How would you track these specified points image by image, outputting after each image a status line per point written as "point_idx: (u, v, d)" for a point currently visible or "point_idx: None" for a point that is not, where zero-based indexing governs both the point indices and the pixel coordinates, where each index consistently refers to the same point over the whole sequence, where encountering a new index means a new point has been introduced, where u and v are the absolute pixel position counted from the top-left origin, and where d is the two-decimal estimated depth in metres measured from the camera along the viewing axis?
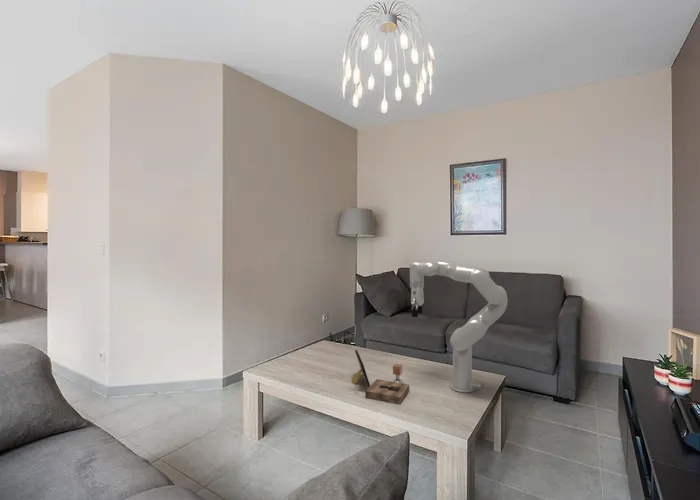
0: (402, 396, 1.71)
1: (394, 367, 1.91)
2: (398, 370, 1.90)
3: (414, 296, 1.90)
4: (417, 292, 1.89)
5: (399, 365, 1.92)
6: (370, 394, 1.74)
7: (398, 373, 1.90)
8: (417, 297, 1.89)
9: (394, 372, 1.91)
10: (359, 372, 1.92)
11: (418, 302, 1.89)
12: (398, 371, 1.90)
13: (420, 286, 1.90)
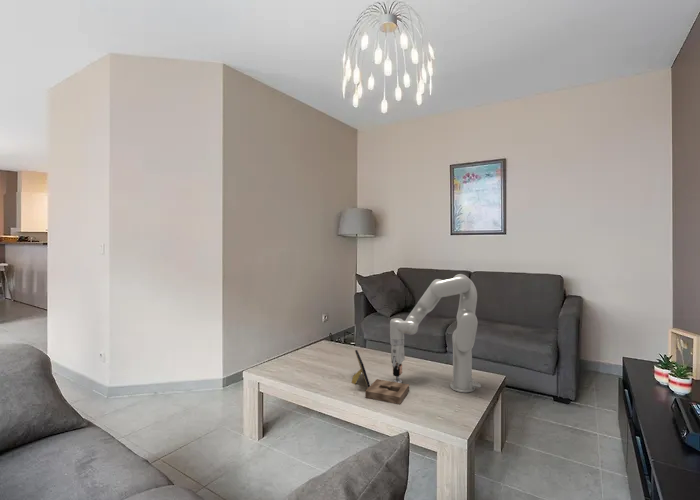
0: (402, 396, 1.71)
1: None
2: None
3: (394, 355, 1.87)
4: (397, 351, 1.87)
5: (399, 365, 1.92)
6: (370, 394, 1.74)
7: None
8: (397, 356, 1.87)
9: None
10: (359, 372, 1.92)
11: (398, 361, 1.87)
12: None
13: (400, 344, 1.88)
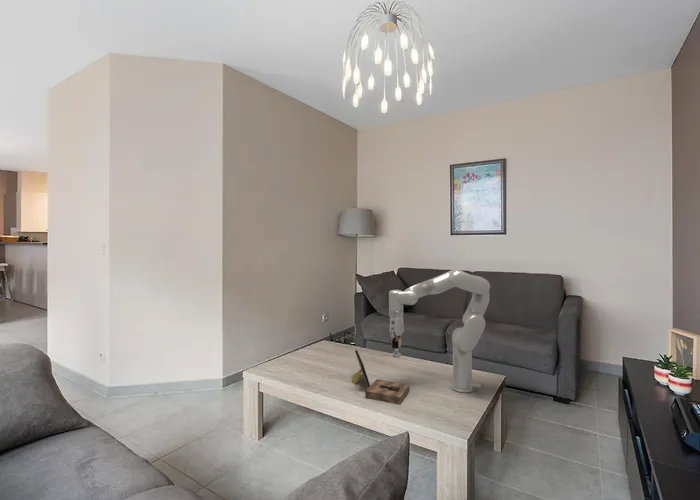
0: (402, 396, 1.71)
1: None
2: None
3: (392, 326, 1.84)
4: (395, 322, 1.83)
5: (398, 337, 1.88)
6: (370, 394, 1.74)
7: None
8: (395, 327, 1.83)
9: None
10: (359, 372, 1.92)
11: (396, 332, 1.83)
12: None
13: (399, 315, 1.84)
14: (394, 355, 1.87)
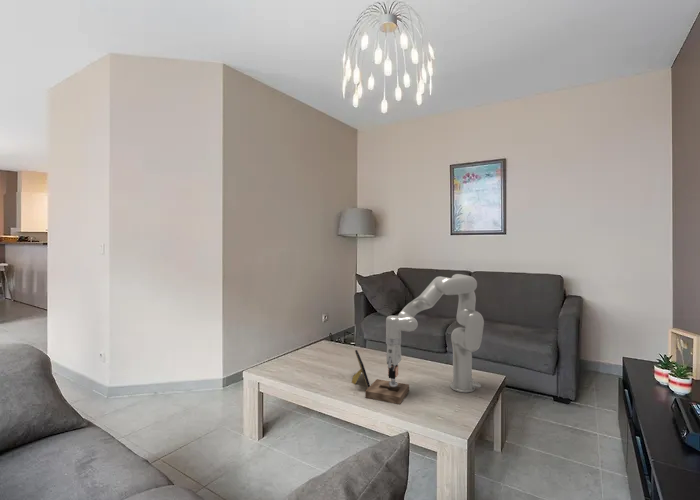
0: (402, 396, 1.71)
1: None
2: None
3: (390, 355, 1.72)
4: (393, 351, 1.72)
5: (395, 366, 1.77)
6: (370, 394, 1.74)
7: None
8: (393, 356, 1.72)
9: None
10: (359, 372, 1.92)
11: (394, 362, 1.72)
12: None
13: (397, 344, 1.73)
14: (391, 385, 1.76)
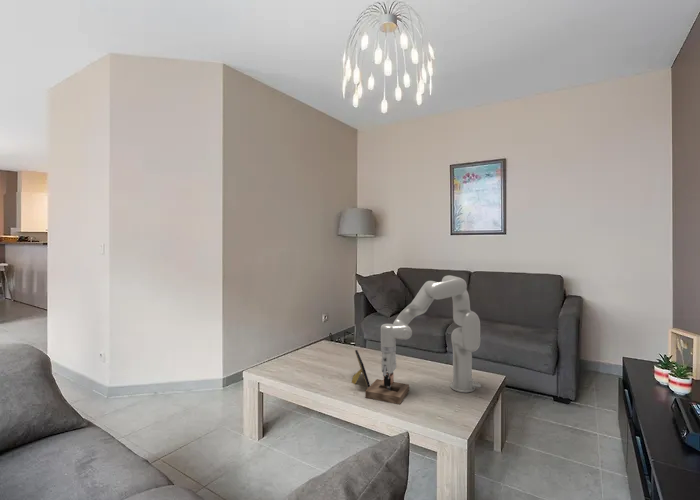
0: (402, 396, 1.71)
1: None
2: None
3: (385, 363, 1.74)
4: (388, 359, 1.73)
5: (390, 374, 1.78)
6: (370, 394, 1.74)
7: None
8: (388, 364, 1.73)
9: None
10: (359, 372, 1.92)
11: (389, 370, 1.73)
12: None
13: (391, 352, 1.74)
14: None
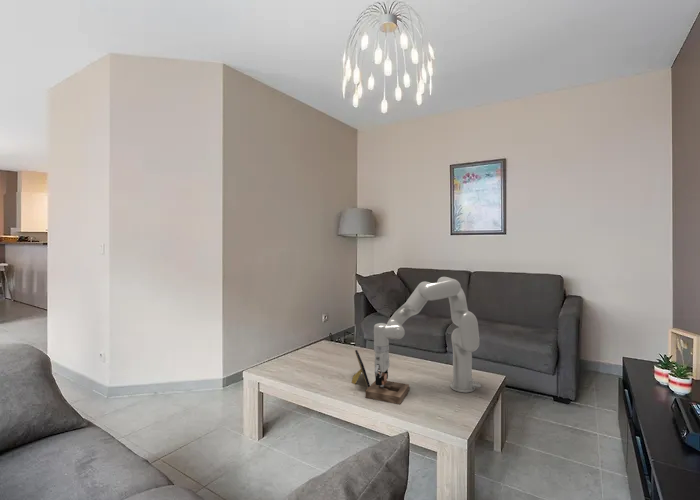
0: (402, 396, 1.71)
1: None
2: (382, 379, 1.78)
3: (378, 362, 1.75)
4: (381, 358, 1.75)
5: (383, 374, 1.80)
6: (370, 394, 1.74)
7: (382, 382, 1.78)
8: (381, 364, 1.75)
9: None
10: (359, 372, 1.92)
11: (382, 369, 1.75)
12: (382, 380, 1.78)
13: (384, 351, 1.76)
14: None
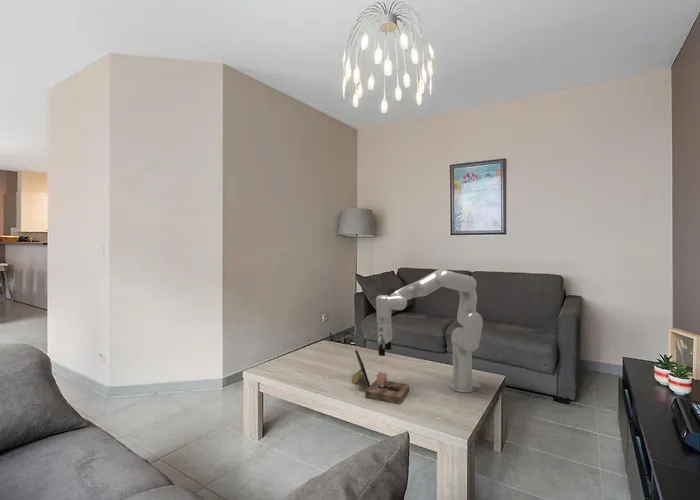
0: (402, 396, 1.71)
1: (378, 376, 1.79)
2: (382, 379, 1.78)
3: (381, 333, 1.76)
4: (384, 329, 1.76)
5: (383, 374, 1.80)
6: (370, 394, 1.74)
7: (382, 382, 1.78)
8: (384, 334, 1.75)
9: (378, 381, 1.79)
10: (359, 372, 1.92)
11: (385, 340, 1.75)
12: (382, 380, 1.78)
13: (387, 322, 1.77)
14: None
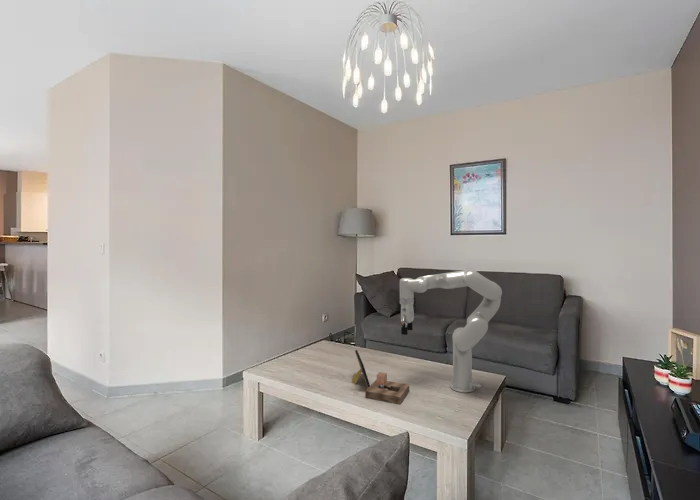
0: (402, 396, 1.71)
1: (378, 376, 1.79)
2: (382, 379, 1.78)
3: (404, 313, 1.86)
4: (407, 309, 1.86)
5: (383, 374, 1.80)
6: (370, 394, 1.74)
7: (382, 382, 1.78)
8: (407, 314, 1.85)
9: (378, 381, 1.79)
10: (359, 372, 1.92)
11: (408, 319, 1.85)
12: (382, 380, 1.78)
13: (410, 303, 1.87)
14: None
